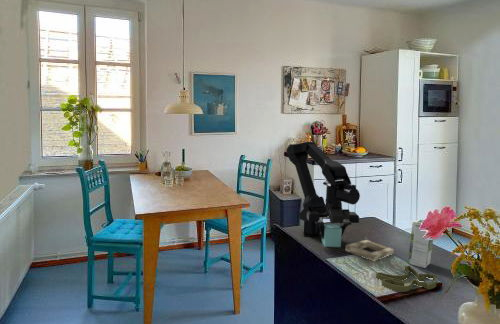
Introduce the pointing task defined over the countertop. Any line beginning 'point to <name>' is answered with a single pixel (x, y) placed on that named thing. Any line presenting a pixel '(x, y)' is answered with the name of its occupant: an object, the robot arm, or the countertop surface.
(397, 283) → the cookie cutter
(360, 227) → the countertop surface
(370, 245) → the socket base
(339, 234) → the turquoise block
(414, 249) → the syrup box
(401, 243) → the countertop surface
